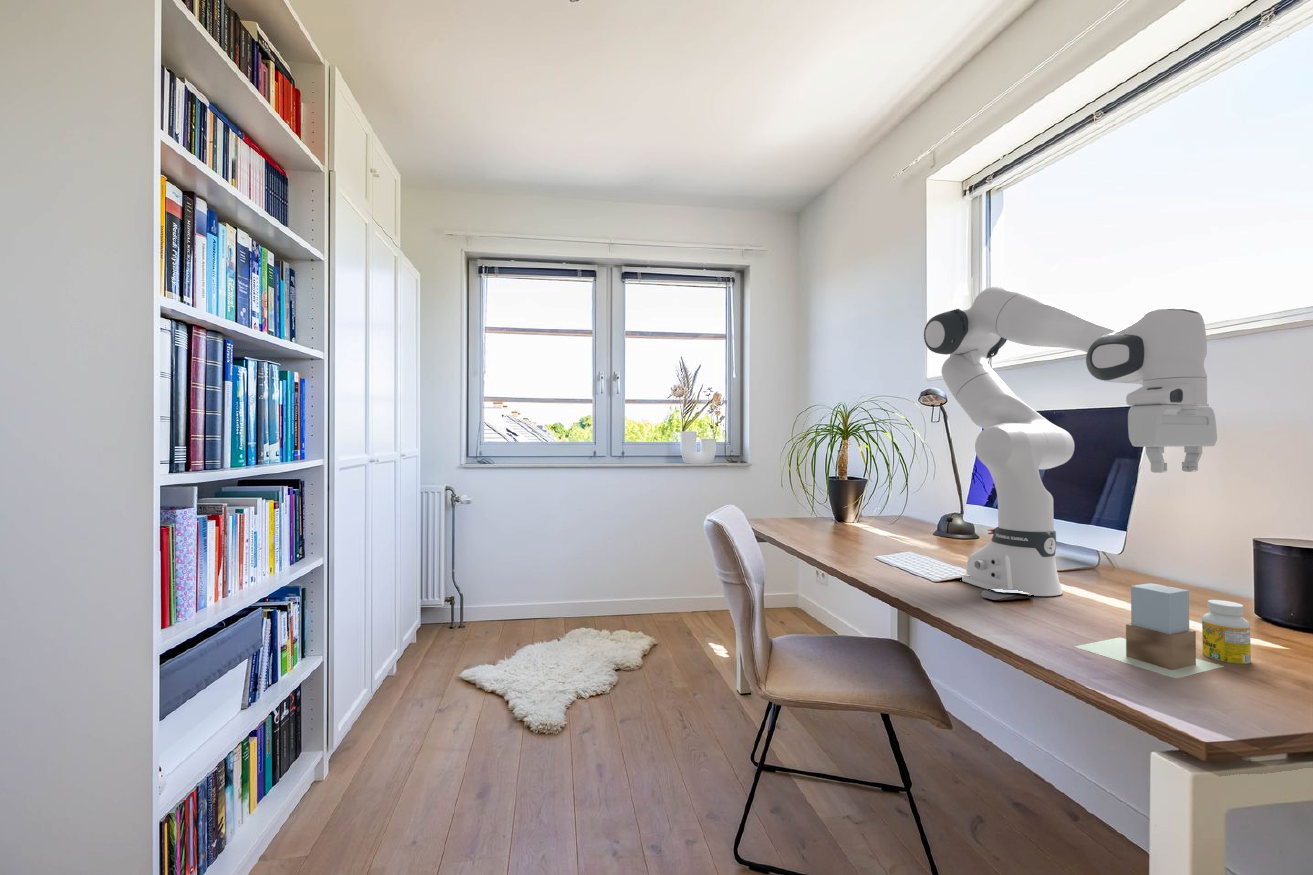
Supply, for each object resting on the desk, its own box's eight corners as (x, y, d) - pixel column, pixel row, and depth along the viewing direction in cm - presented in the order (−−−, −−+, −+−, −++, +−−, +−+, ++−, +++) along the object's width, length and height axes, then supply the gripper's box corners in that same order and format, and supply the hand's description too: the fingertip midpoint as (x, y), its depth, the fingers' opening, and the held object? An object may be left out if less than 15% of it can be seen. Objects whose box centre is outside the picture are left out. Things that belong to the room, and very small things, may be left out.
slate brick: (1131, 624, 91) (1131, 585, 91) (1150, 620, 93) (1150, 583, 93) (1169, 634, 87) (1169, 593, 87) (1189, 630, 88) (1188, 590, 88)
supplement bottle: (1258, 673, 88) (1258, 609, 88) (1212, 668, 90) (1212, 605, 90) (1238, 661, 93) (1238, 600, 93) (1195, 656, 95) (1195, 597, 95)
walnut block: (1126, 656, 91) (1125, 624, 91) (1149, 651, 94) (1149, 619, 94) (1172, 670, 86) (1171, 635, 86) (1195, 664, 88) (1195, 630, 88)
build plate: (1073, 653, 96) (1073, 646, 96) (1120, 644, 100) (1120, 637, 100) (1176, 686, 83) (1176, 678, 83) (1224, 674, 87) (1224, 666, 87)
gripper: (1186, 398, 113) (1187, 470, 113) (1119, 395, 106) (1120, 472, 106) (1228, 396, 108) (1229, 471, 107) (1160, 392, 100) (1161, 474, 100)
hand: (1174, 472), depth 106 cm, fingers open, 8 cm apart
